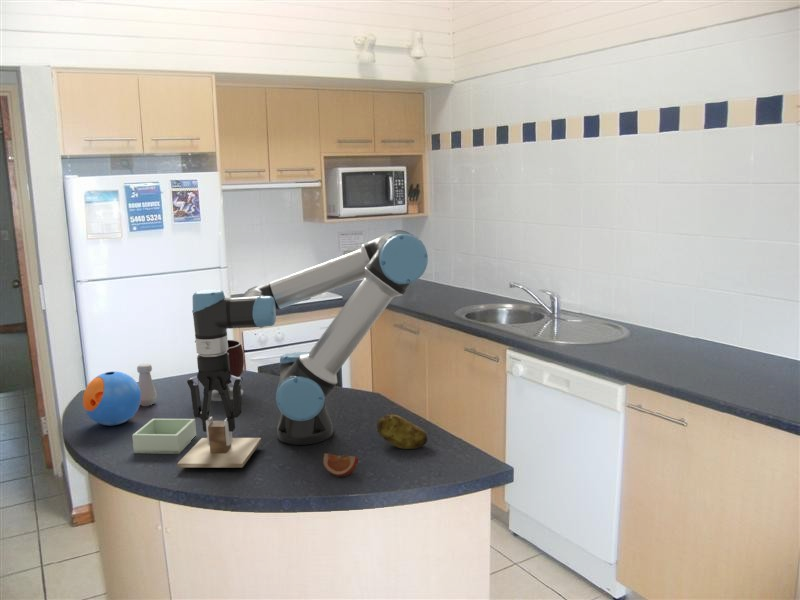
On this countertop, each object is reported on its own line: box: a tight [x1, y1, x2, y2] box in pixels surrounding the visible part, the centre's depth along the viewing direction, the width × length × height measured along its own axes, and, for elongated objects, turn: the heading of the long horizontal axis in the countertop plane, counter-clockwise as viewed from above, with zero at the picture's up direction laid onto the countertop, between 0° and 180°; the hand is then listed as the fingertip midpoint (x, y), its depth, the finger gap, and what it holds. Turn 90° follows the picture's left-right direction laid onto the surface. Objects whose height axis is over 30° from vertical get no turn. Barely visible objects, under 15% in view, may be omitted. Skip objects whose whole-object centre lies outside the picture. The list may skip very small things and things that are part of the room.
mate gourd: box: [194, 339, 245, 402], centre depth 216 cm, size 16×14×20 cm
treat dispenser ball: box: [82, 371, 141, 426], centre depth 193 cm, size 16×15×15 cm
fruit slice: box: [322, 452, 359, 477], centre depth 158 cm, size 8×7×5 cm
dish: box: [131, 418, 197, 455], centre depth 177 cm, size 12×12×5 cm
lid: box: [176, 420, 262, 469], centre depth 166 cm, size 16×16×8 cm
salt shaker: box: [136, 363, 158, 407], centre depth 210 cm, size 6×6×13 cm
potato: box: [376, 413, 428, 450], centre depth 173 cm, size 8×13×8 cm, turn 55°
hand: (220, 443), depth 167 cm, fingers closed on lid, 4 cm apart
